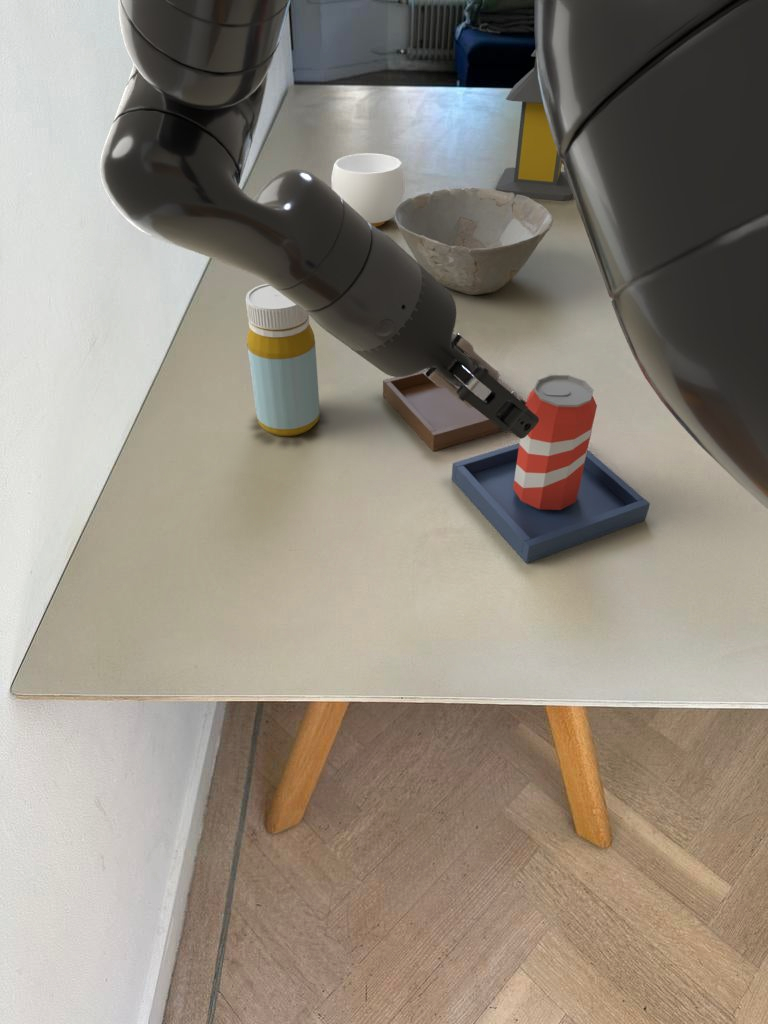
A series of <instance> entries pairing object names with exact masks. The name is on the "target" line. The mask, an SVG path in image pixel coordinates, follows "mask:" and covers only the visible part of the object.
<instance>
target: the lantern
mask: <svg viewBox="0 0 768 1024" xmlns="http://www.w3.org/2000/svg"><path fill="white" fill-rule="evenodd" d="M530 56H531V57H533V58H534V57H535V59H534V67H533V68H532V69H530V71H528V72H527V73H526V74H525V75H524V76H523V77H522V78H520V79H519V81H518V82H516V83H515V84H514V85H513V87H512V89H511V90H510V92H509V93H508V94H507V96H506V98H505V100H506V101H509V102H521V109H520V110H521V111H520V120H519V129H518V139H517V147H516V156H515V157H516V158H515V165H514V167H505V168H504V170H503V172H502V174H501V176H500V178H499V180H498V182H497V184H496V186H495V190H496V191H501V192H506V193H514V195H515V196H516V195H517V194H518V195H522V196H526V197H528V198H530V199H539V200H550V201H559V202H560V201H562V202H564V201H565V202H566V201H570V200H571V199H572V196H573V194H572V191H571V188H570V185H569V182H568V180H567V177H566V174H565V171H562V168H563V167H562V166H563V164H562V162H561V160H560V158H559V155H558V152H557V149H556V146H555V143H554V140H553V137H552V133H551V130H550V126H549V123H548V119H547V116H546V112H545V109H544V105H543V100H542V95H541V90H540V85H539V80H538V72H537V60H536V48H535V49H534V51H533V52H532V53H531V55H530Z"/></svg>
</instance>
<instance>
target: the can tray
mask: <svg viewBox="0 0 768 1024" xmlns="http://www.w3.org/2000/svg"><path fill="white" fill-rule="evenodd" d="M519 443H520V442H518V443H515V444H511V445H507V446H503V447H501V448H498V449H495V450H492V451H488V452H485V453H482V454H478V455H474V456H472V457H469V458H465V459H461V460H458V461H456V462H455V461H454V462H452V466H451V467H452V470H451V480H452V481H453V483H454V484H455V485H456V486H457V487H458V489H460V491H461V492H462V493H463V494H464V496H466V498H468V499H469V501H470V502H471V503H472V504H473V505H474V506H475V508H476V509H477V510H478V511H479V512H480V513H481V515H483V517H484V518H485V519H486V520H487V521H488V523H490V525H492V527H493V528H494V529H495V530H496V531H497V533H499V535H500V536H501V537H502V538H503V539H504V540H505V542H507V544H508V545H509V546H510V547H511V548H512V549H513V551H515V553H516V554H517V555H518V556H519V557H520V558H521V560H522V561H523V562H524V563H525V564H529V563H532V562H534V561H537V560H540V559H543V558H545V557H548V556H550V555H555V554H556V553H560V552H562V551H565V550H568V549H570V548H573V547H575V546H578V545H581V544H583V543H586V542H589V541H592V540H594V539H597V538H600V537H603V536H606V535H608V534H611V533H613V532H617V531H619V530H622V529H624V528H627V527H630V526H633V525H635V524H638V523H641V522H643V521H644V522H645V521H646V518H647V516H648V513H649V509H650V505H651V503H650V502H649V501H648V500H647V499H645V498H644V497H643V496H642V495H641V494H640V493H639V492H637V491H636V490H635V489H634V488H633V487H632V486H631V485H629V484H628V482H626V481H625V480H623V479H622V478H621V477H620V476H619V475H618V474H616V472H614V471H613V470H612V469H610V468H609V466H607V464H605V463H604V462H603V461H601V460H600V459H599V458H598V457H597V456H595V455H594V454H593V453H592V452H591V450H587V455H586V459H585V464H584V469H583V473H582V478H581V483H580V487H579V492H578V495H577V499H576V502H575V503H573V504H571V505H569V506H567V507H565V508H563V509H561V510H546V509H537V508H535V507H533V506H531V505H529V504H527V503H524V502H522V501H521V500H520V498H519V497H518V495H517V494H516V492H515V491H514V489H513V486H514V478H515V471H516V464H517V457H518V450H519Z"/></svg>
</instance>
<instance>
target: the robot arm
mask: <svg viewBox="0 0 768 1024" xmlns="http://www.w3.org/2000/svg"><path fill="white" fill-rule="evenodd" d="M291 2H292V0H117V6H118V18H119V25H120V30H121V36H122V38H123V42H124V46H125V48H126V51H127V53H128V56H129V57H130V59H131V61H132V63H133V64H132V69H131V72H130V75H129V78H128V81H127V83H126V86H125V89H124V92H123V94H122V97H121V100H120V103H119V105H118V108H117V111H116V114H115V116H114V119H113V122H112V125H111V127H110V129H109V132H108V134H107V138H106V139H105V142H104V145H103V149H102V152H101V155H100V161H99V173H100V174H99V175H100V179H101V183H102V185H103V189H104V190H105V193H106V194H107V196H108V197H109V199H110V201H111V203H112V205H114V207H115V208H116V210H117V211H118V212H119V214H121V215H122V216H123V217H124V218H125V219H126V220H127V222H129V223H130V224H131V225H132V226H133V227H135V228H136V229H137V230H138V231H140V232H143V233H145V234H146V235H148V236H149V237H151V238H154V239H156V240H159V241H161V242H165V243H167V244H170V245H172V246H176V247H179V248H182V249H185V250H189V251H191V252H194V253H196V254H199V255H203V256H205V257H208V258H211V259H213V260H215V261H218V262H221V263H223V264H226V265H228V266H230V267H232V268H236V269H237V270H241V271H243V272H246V273H248V274H251V275H253V276H254V277H257V278H259V279H260V280H262V281H264V282H265V284H269V285H270V286H271V287H273V288H274V289H276V290H277V291H278V292H280V293H281V294H283V295H284V296H285V297H287V298H288V299H289V300H291V301H292V302H293V303H295V304H296V305H298V306H299V307H301V308H302V309H303V310H304V311H305V312H307V313H308V314H309V317H311V318H312V320H313V321H315V323H316V324H318V325H319V326H320V327H321V328H322V329H323V330H324V331H326V332H327V333H328V334H330V335H331V336H333V337H334V338H335V339H337V341H339V342H341V343H342V344H344V345H345V346H346V347H348V348H349V349H350V350H352V351H353V352H354V353H356V354H357V355H358V356H360V357H361V358H362V359H364V360H365V361H367V362H368V363H369V364H371V365H373V366H374V367H375V368H377V369H378V370H379V371H381V372H382V373H383V374H385V375H387V376H390V377H392V378H394V377H406V376H410V375H413V374H415V373H418V372H420V371H422V370H425V369H426V371H425V372H424V375H425V376H427V377H428V378H429V379H430V380H431V381H432V382H433V383H435V384H436V385H437V386H439V387H444V388H446V389H447V390H448V391H449V392H450V393H452V394H453V395H454V396H455V397H456V398H457V399H459V400H460V401H461V402H462V403H463V404H465V405H466V406H467V407H469V408H473V407H474V408H475V409H477V410H478V411H479V412H480V413H482V414H483V415H484V416H485V417H487V418H488V419H489V420H491V421H492V422H493V423H494V424H496V425H497V428H498V429H499V430H501V431H500V432H504V433H508V432H511V433H512V434H513V435H515V436H516V437H517V438H519V440H520V439H522V438H524V437H526V436H527V435H528V434H529V432H530V431H531V430H532V429H533V428H534V427H535V426H536V425H537V423H538V421H539V418H538V417H537V416H536V415H535V414H534V413H533V412H532V411H530V410H529V409H528V407H527V406H526V405H525V404H526V403H525V402H524V401H523V400H524V399H523V398H522V399H523V400H522V399H521V400H519V399H518V398H517V396H518V395H519V394H518V393H517V394H518V395H517V394H515V393H516V392H515V391H514V390H513V391H514V392H515V393H514V392H513V391H512V393H511V392H510V391H509V390H508V389H507V388H505V387H504V386H503V385H502V384H501V383H500V382H499V379H500V374H499V371H497V370H496V369H495V368H494V367H493V366H492V365H490V363H488V362H487V361H486V360H485V359H483V358H482V357H481V356H480V355H479V354H478V353H476V352H475V350H474V347H473V344H471V343H470V342H469V341H468V340H467V339H466V338H464V336H462V335H461V334H460V333H459V332H456V333H455V327H456V323H457V305H456V300H455V299H454V297H453V295H452V294H451V291H449V290H448V288H447V287H445V286H443V285H442V284H440V283H439V282H438V281H437V280H436V279H435V278H434V277H433V276H432V275H431V274H430V273H429V272H427V271H426V270H425V269H424V268H423V267H422V266H421V265H420V264H419V263H418V262H417V260H416V259H415V258H414V257H413V256H411V254H410V253H408V252H407V251H406V250H405V249H404V248H403V247H402V246H401V245H399V244H398V243H397V242H396V241H395V240H394V239H393V238H391V237H390V236H389V235H388V234H386V233H385V232H383V231H382V230H380V229H378V228H377V227H374V226H373V225H371V224H370V223H369V222H368V221H366V220H365V219H364V218H363V217H362V216H361V215H360V214H358V213H357V212H356V211H355V210H354V209H353V208H352V207H351V206H350V205H349V204H348V203H346V202H345V201H344V200H343V199H342V198H341V197H340V196H339V195H338V194H337V193H336V192H335V191H334V190H332V187H330V186H329V185H328V184H327V183H326V182H325V181H323V180H322V179H320V178H319V177H318V176H316V175H315V174H313V173H312V172H310V171H307V170H304V169H299V168H294V169H293V168H292V169H287V170H284V171H283V172H282V171H281V173H278V174H277V175H275V176H274V177H272V178H271V179H270V180H269V181H268V182H267V183H266V184H264V186H262V188H261V189H260V190H259V191H258V192H257V194H256V195H255V196H254V198H251V197H249V195H247V194H246V193H245V191H244V190H242V188H241V187H240V184H241V180H242V178H243V173H244V171H245V167H246V165H247V161H248V157H249V155H250V152H251V148H252V144H253V141H254V137H255V135H256V131H257V128H258V124H259V119H260V115H261V112H262V108H263V104H264V98H265V94H266V89H267V82H268V77H269V70H270V68H271V67H272V64H273V62H274V59H275V56H276V54H277V51H278V49H279V45H280V41H281V38H282V34H283V31H284V27H285V23H286V20H287V16H288V12H289V9H290V5H291ZM533 20H534V21H533V23H534V25H533V26H534V43H535V44H534V45H535V46H534V47H535V49H536V57H535V58H536V60H537V72H538V80H539V85H540V90H541V95H542V100H543V105H544V109H545V112H546V116H547V119H548V123H549V126H550V130H551V133H552V137H553V140H554V143H555V146H556V149H557V152H558V155H559V158H560V160H561V162H562V166H563V172H565V174H566V177H567V180H568V182H569V185H570V188H571V191H572V196H573V199H574V202H575V205H576V207H577V210H578V214H579V216H580V219H581V221H582V224H583V227H584V230H585V232H586V236H587V238H588V241H589V244H590V246H591V247H590V248H591V249H592V253H593V255H594V257H595V260H596V263H597V266H598V269H599V271H600V275H601V277H602V280H603V283H604V286H605V288H606V291H607V294H608V297H609V298H610V299H611V305H612V308H613V311H614V313H615V316H616V318H617V321H618V324H619V327H620V329H621V331H622V334H623V336H624V338H625V340H626V342H627V345H628V347H629V350H630V351H631V354H632V356H633V358H634V360H635V361H636V363H637V365H638V367H639V369H640V371H641V373H642V374H643V376H644V379H645V380H646V381H647V382H648V384H649V385H650V387H651V389H652V390H653V392H655V394H656V396H657V397H658V398H659V400H660V401H661V402H662V404H663V405H664V406H665V408H666V409H667V410H668V411H669V413H670V414H671V415H672V416H673V417H674V419H675V420H676V421H677V422H678V424H679V425H680V426H681V427H682V428H683V429H684V430H685V431H686V432H687V434H689V436H690V437H691V438H692V439H693V441H695V442H696V443H697V444H698V445H699V446H700V448H701V449H703V450H704V451H705V452H706V453H707V454H708V455H709V457H711V458H712V460H714V461H715V462H716V463H717V464H718V465H719V466H720V467H721V468H722V469H723V470H724V471H725V472H726V473H727V474H728V475H729V476H730V477H732V478H733V480H735V482H736V483H738V484H739V485H740V486H741V487H742V488H743V489H744V490H745V491H747V493H749V494H750V496H752V497H753V498H755V499H756V501H758V502H759V503H760V504H761V505H762V506H763V507H764V508H765V509H767V510H768V0H534V19H533ZM454 333H455V334H454ZM471 358H472V359H471ZM453 384H454V385H456V386H458V387H460V388H459V389H457V388H456V387H455V386H454V385H453ZM502 430H503V431H502Z"/></svg>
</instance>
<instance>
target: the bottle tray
mask: <svg viewBox="0 0 768 1024" xmlns="http://www.w3.org/2000/svg"><path fill="white" fill-rule="evenodd" d="M471 359H472V358H471ZM425 371H426V369H424V370H422V371H420V372H418V373H415V374H413V375H410V376H406V377H390V378H387V379H383V380H382V396H383V397H384V398H385V400H386V401H387V402H388V403H389V404H390V405H391V406H392V407H393V408H394V410H395V411H396V412H397V413H398V414H399V415H400V416H401V417H402V418H403V420H404V421H405V423H407V424H408V425H409V426H410V427H411V429H412V430H413V431H415V433H416V434H417V435H418V436H419V437H420V438H421V440H422V441H423V442H424V443H425V444H426V445H427V446H428V448H429V449H430V450H431V451H432V452H435V451H439V450H442V449H445V448H446V449H447V448H449V447H452V446H456V445H460V444H463V443H466V442H470V441H473V440H476V439H477V440H478V439H480V438H483V437H487V436H490V435H493V434H497V433H500V432H504V431H503V430H502V431H501V430H499V429H498V428H497V425H496V424H494V423H493V422H492V421H491V420H489V419H488V418H487V417H485V416H484V415H483V414H482V413H480V412H479V411H478V410H477V409H475V408H474V407H473V408H469V407H467V406H466V405H465V404H463V403H462V402H461V401H460V400H459V399H457V398H456V397H455V396H454V395H453V394H452V393H450V392H449V391H448V390H447V389H446V388H444V387H439V386H437V385H436V384H435V383H433V382H432V381H431V380H430V379H429V378H428V377H427V376H425V375H424V372H425ZM499 382H500V383H501V384H502V385H503V386H504V387H505V388H507V389H508V390H509V391H510V392H511V393H512V391H513V392H514V393H515V394H517V395H518V396H517V398H518V399H519V400H521V399H522V400H523V401H524V402H525V403H526V401H527V400H524V398H522V396H520V395H519V394H518V393H517V392H516V391H515V390H513V389H512V388H511V387H510V386H509V385H507V383H505V382H504V381H503V380H502V379H500V378H499ZM453 385H454V384H453ZM454 386H455V387H456V388H457V389H459V388H460V387H458V386H456V385H454Z"/></svg>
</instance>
